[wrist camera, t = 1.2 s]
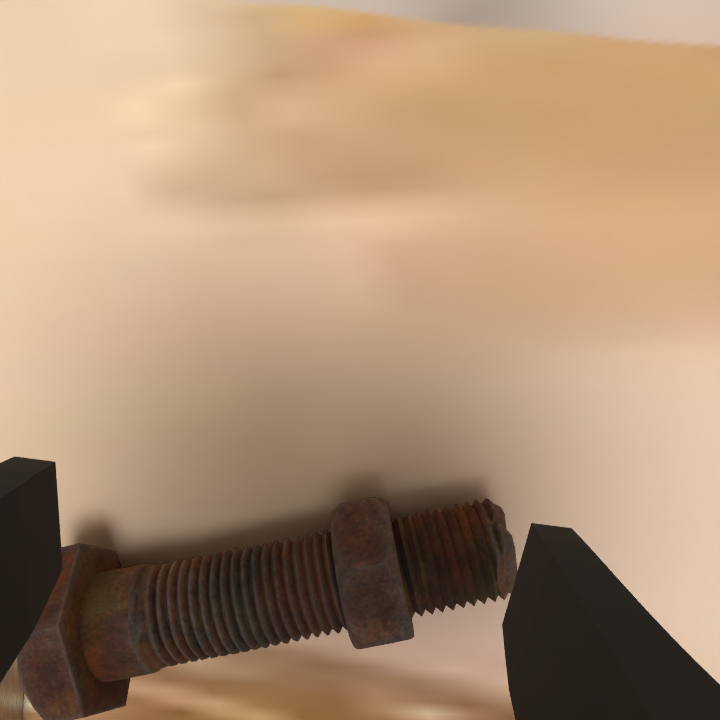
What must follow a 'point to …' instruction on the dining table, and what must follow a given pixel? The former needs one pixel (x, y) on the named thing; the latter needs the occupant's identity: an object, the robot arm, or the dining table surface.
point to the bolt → (257, 598)
